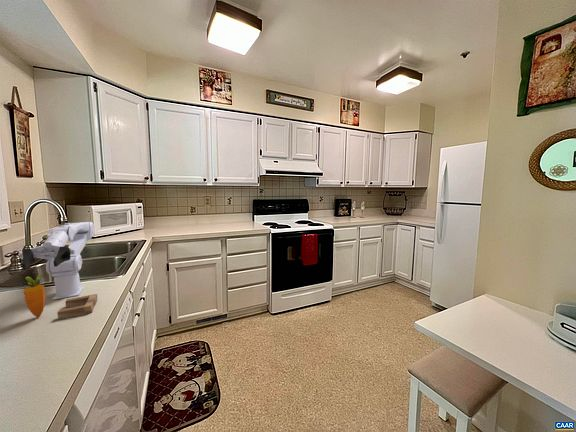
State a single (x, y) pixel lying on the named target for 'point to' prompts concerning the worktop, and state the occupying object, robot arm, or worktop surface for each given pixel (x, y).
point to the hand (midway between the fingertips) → (39, 265)
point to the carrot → (35, 296)
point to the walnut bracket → (79, 310)
